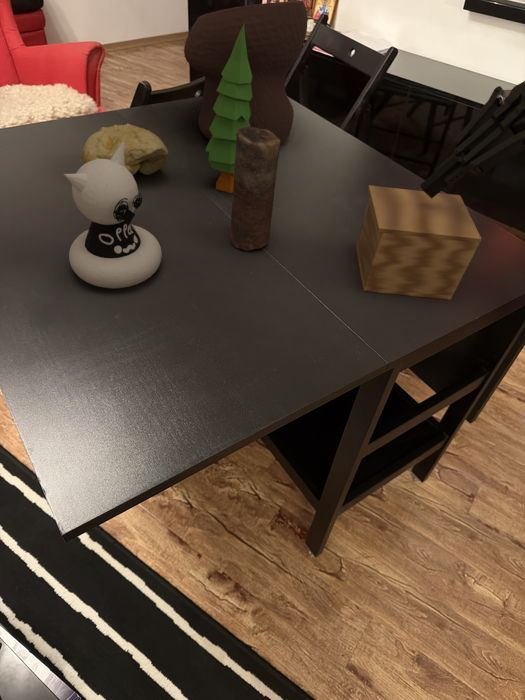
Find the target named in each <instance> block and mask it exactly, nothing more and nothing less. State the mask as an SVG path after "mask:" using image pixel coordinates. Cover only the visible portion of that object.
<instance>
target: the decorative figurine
mask: <svg viewBox="0 0 525 700" xmlns="http://www.w3.org/2000/svg"><path fill="white" fill-rule="evenodd" d="M63 176H64V177H65V178H66V179H67V181H68V182H69V183H70V184H71V186H72V187H71V193H72V198H73V201H74V203H75V206H76V207H77V209H78V210H79V211H80V213H81V214H82V215H83V216H85V218H87V219H88V220H90V221H91V222H90V225H89V228H88V229H86V230H85V231H82V233H80V234H79V235H78V236H77V237H76V238H75V239H74V240H73V242H72V244H71V246H70V248H69V252H68V260H69V264H70V267H71V269H72V270H73V272H74V273H75V274H76V275H77V276H78V278H80V279H81V280H82V281H84V282H86V283H88V284H90V285H93V286H95V287H98V288H105V289H123V288H124V289H125V288H129V287H133V286H137V285H139V284H140V283H143V282H145V281H146V280H148V279H149V278H151V277H152V276H153V275H155V273H156V272H157V271H158V269H159V267H160V265H161V262H162V257H163V256H162V253H163V252H162V248H161V247H162V246H161V245H160V243H159V240H158V239H157V238H156V237H155V236H154V235H153V234H152V233H151V232H149V231H148V230H147V229H145V228H143V227H140V226H137V225H134V224H132V221H133V219H134V218H135V216H136V213H135V210H138V209H139V208H140V207H141V205H142V202H143V197H142V194H143V193H139V189H138V184H137V181H136V180H135V177H134V175H132V174H131V173H130V172H129V171H128V170H127V168H125V157H124V141H123V142H122V143H121V145H120V146H119V148H118V149H117V151H116V152H115V154H114V155H113V157H112V158H111V160H109V159H96V160H92V161H89V162H87V163H86V164H84V163H83V165H82V166H80V167H79V169H77V171H76V172H75V173H63Z"/></svg>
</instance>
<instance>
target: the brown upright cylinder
mask: <svg viewBox="0 0 525 700" xmlns="http://www.w3.org/2000/svg"><path fill="white" fill-rule="evenodd" d="M280 146H281V145H280V140H279V138H277V137H276V136H275V135H274V134H273V133H272V132H270V131H269V130H265V129H259V128H252V127H241V128H239V129H238V130H237V133H236V153H235V169H234V186H233V193H232V202H231V215H230V216H231V217H230V235H229V237H230V240H231V245H232V246H233V247H235V248H236V249H239V250H243V251H252V250H256V249H257V250H258V249H262V248H263V247H265V246H266V245H267V244H268V243H269V240H270V235H271V228H272V227H271V226H272V218H273V211H274V209H273V208H274V198H275V189H276V181H277V174H278V163H279V155H280Z"/></svg>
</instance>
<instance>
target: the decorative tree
mask: <svg viewBox="0 0 525 700" xmlns="http://www.w3.org/2000/svg"><path fill="white" fill-rule="evenodd" d="M221 74H222V76H223V77H222V79H221V82H220V84H219V86H218V89H217V92H219V93H220V94H219V96H218V98H217V100H216V103H215V105H214V107H213V110H214V111H215V112H216V116H215V118H214V120H213V122H212V124H211V126H210V128H209V130H210V132H211V133H212V137H211V139H210V140H209V141H208V143H207V145H206V147H205V151H206V153H208V157H207V161H208V163H209V166H210V167H211V169H212V170H213V169H214V170H217V171H220V175H219V177H218V179H217V180H216V182H215V190H218V191H221V192H225V193H229V194H233V186H234V169H235V153H236V133H237V130H238V129H239V128H241V127H250V124H249V118H250V115H251V113H250V106H249V101H250V100H251V98H252V89H251V81H252V73H251V69H250V65H249V62H248V57H247V49H246V42H245V30H244V24H243V26H242V28H241V31H240V33H239V35H238V37H237V40H236V43H235V45H234V48H233V51H232V53H231V56H230V58H229V60H228V62H227V64H226V66H225V68H224V69H223V71H222V73H221Z"/></svg>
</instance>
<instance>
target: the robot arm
mask: <svg viewBox="0 0 525 700" xmlns="http://www.w3.org/2000/svg"><path fill="white" fill-rule="evenodd" d="M452 145H453V146H454V150H453V153H452V154H451V155H450V156H449V157H448V158H446V159H445V160H444V161H443V162H442V163H441V164H439V166H438V167H437V168H436V169H437V170H436V171H434V172H433V173H432V174H431V175H430V176H429V177H428V178H426V179H425V180H424V181H423V182H422V183H421V184H419V186H420V188H421V191H424V192H425V193H426V194H427V195H428V196H429V197H430V198H433V197H434V196H436V195H437V194H438V193H442V191H443V190H444V189H446V188H447V187H448V186H449V187H450V186H452V185H455V183H457V182H458V181H459V180H460V179H461V178H463V177H464V176H465V175H466V174H468V173H472V174H474V175H476V176H478V177H481V176H483V175H484V174H485V173H487V172H489V171H491V170H493V169H494V168H496V167H497V166H499V165H501V164H502V163H504V162H506V161H508V160H510V159H511V158H513V157H515V156H517V155H518V154H520V153H522V152H524V151H525V80H524V81H522V82H520V83H518V84H516V85H514V86H513V87H512V89H503V87H502V86H500V85H498V86H496V87H495V88H494V89H493V91H492V93H491V94H490V97H489V98H488V100H487V101H486V103H484V105H483V106H482V107H481V108H480V110H478V112H477V113H476V114H475V115H474V116H473V118H471V120H470V121H469V122H468V123H467V124H466V126H464V128H463V129H462V130H461V131H460V132H459V133H458V135H457V136H456V137H455V138H454V139H453V141H452Z"/></svg>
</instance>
